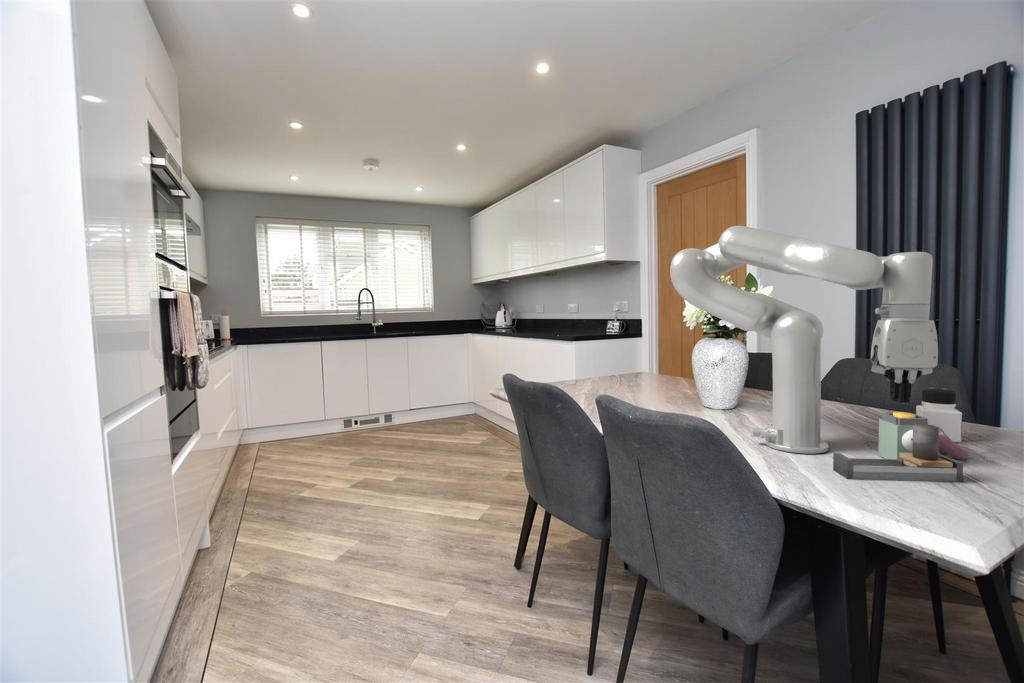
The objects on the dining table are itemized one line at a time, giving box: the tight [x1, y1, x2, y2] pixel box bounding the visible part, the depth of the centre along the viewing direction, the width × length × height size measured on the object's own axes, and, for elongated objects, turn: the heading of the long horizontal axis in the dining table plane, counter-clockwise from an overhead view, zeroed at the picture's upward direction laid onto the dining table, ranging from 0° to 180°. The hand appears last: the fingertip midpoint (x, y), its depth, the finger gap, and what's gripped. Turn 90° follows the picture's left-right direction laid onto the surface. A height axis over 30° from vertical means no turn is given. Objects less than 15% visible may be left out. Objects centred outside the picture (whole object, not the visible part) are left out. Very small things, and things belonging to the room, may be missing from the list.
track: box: [832, 452, 964, 483], centre depth 87 cm, size 19×5×4 cm, turn 81°
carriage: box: [899, 424, 953, 467], centre depth 86 cm, size 5×6×8 cm
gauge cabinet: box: [877, 412, 928, 459], centre depth 96 cm, size 6×7×9 cm
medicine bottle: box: [915, 387, 963, 443], centre depth 112 cm, size 7×7×12 cm
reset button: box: [892, 411, 916, 418], centre depth 96 cm, size 4×4×2 cm
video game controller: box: [938, 428, 969, 461], centre depth 100 cm, size 10×5×7 cm, turn 154°
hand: (899, 401), depth 96 cm, fingers closed
